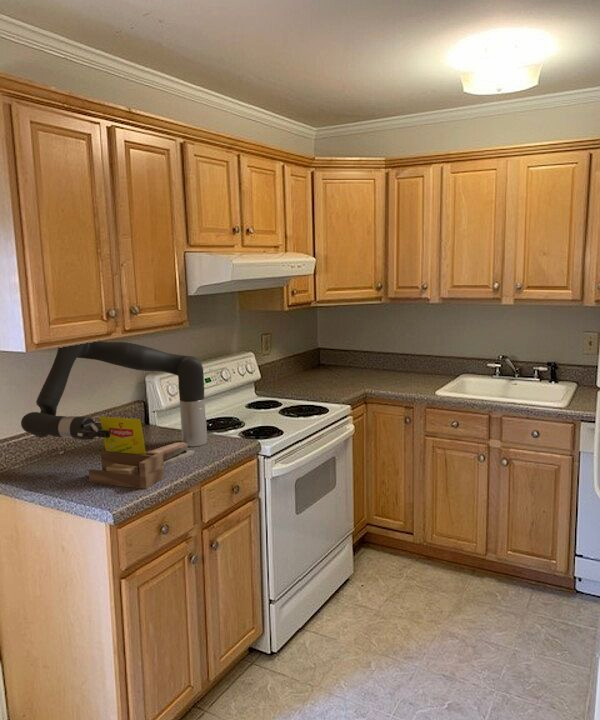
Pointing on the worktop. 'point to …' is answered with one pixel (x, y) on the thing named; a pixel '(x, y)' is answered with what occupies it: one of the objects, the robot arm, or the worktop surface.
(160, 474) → the walnut rack
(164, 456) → the packaged product
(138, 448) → the food package
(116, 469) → the upper pine offcut
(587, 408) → the worktop surface
